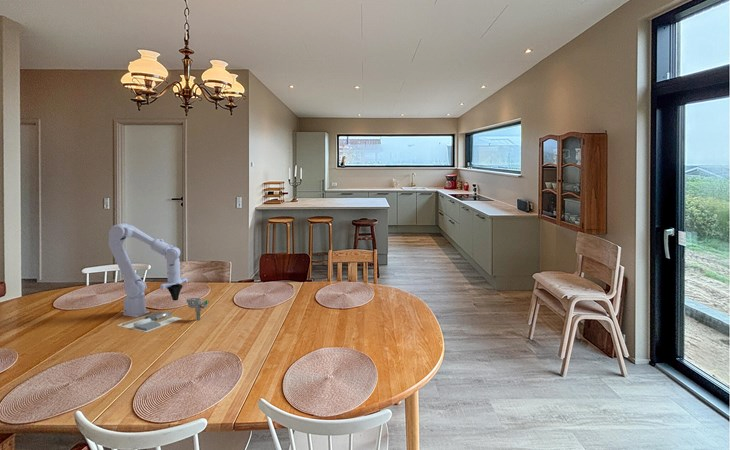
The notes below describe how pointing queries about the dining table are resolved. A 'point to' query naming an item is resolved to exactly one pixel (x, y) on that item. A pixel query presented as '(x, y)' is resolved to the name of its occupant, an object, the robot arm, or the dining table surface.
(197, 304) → the mechanical component
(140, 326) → the hinge jig
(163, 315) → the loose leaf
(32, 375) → the dining table surface
